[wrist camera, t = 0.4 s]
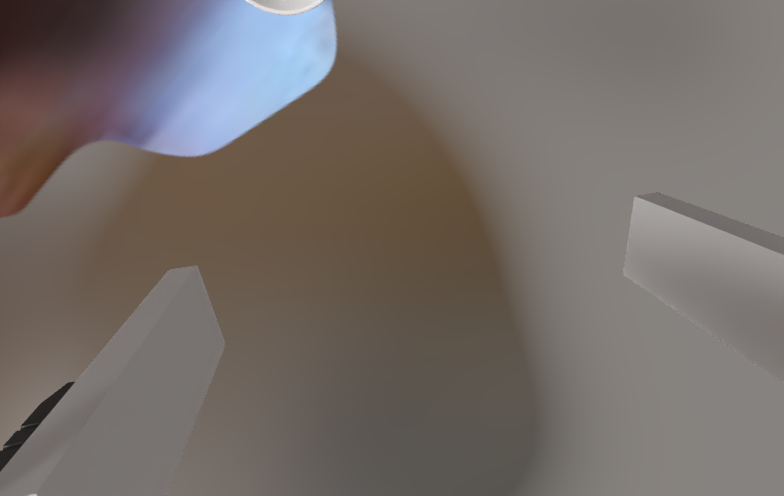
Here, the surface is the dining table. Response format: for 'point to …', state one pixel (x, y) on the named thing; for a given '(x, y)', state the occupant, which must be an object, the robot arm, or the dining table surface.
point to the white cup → (286, 6)
